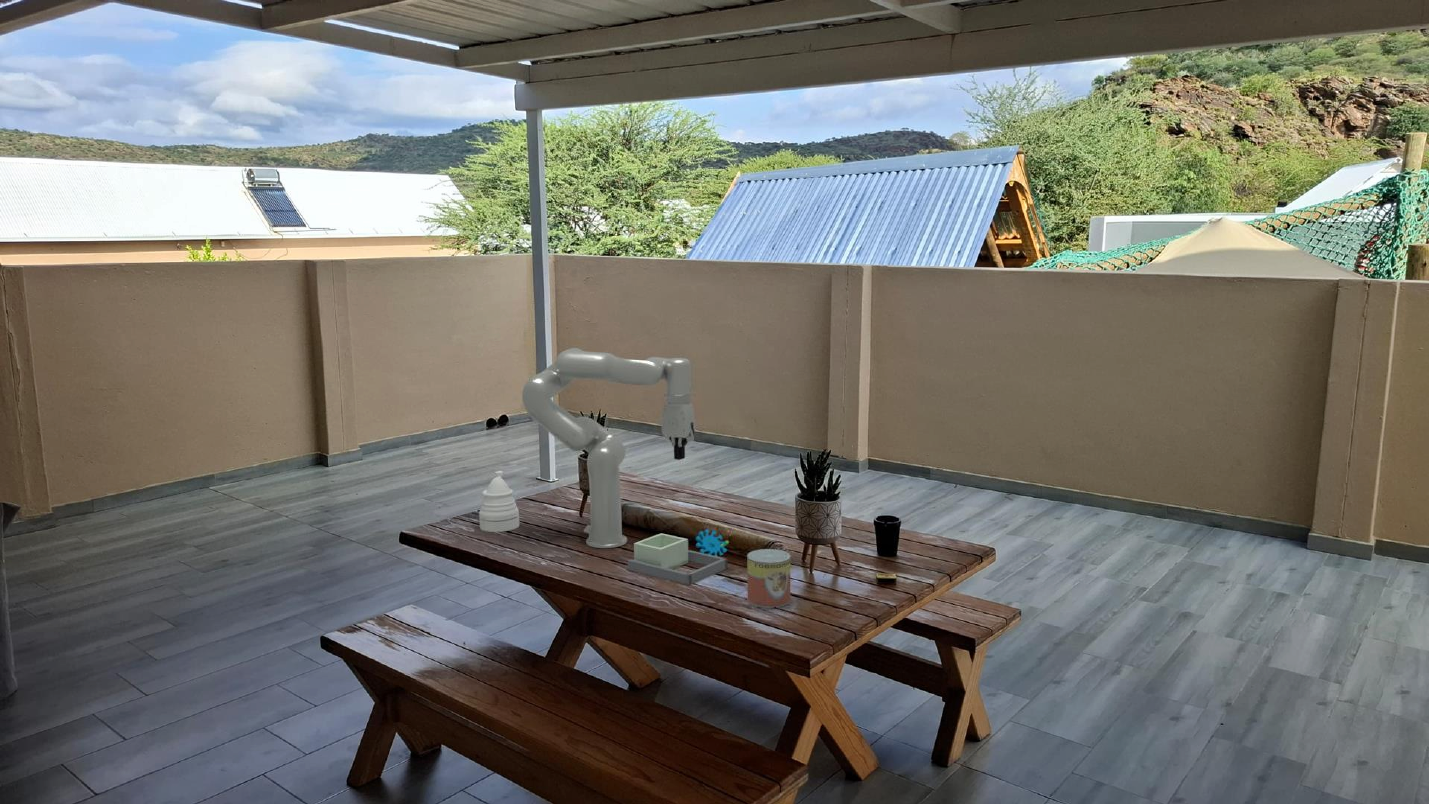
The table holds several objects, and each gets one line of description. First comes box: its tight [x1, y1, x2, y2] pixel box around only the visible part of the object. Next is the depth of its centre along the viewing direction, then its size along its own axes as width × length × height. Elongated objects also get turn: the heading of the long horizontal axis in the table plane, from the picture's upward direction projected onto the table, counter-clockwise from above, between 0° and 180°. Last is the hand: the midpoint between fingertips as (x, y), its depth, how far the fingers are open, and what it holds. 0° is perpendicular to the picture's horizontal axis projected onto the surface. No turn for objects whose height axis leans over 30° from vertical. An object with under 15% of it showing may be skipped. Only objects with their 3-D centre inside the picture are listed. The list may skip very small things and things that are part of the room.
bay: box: [627, 549, 729, 586], centre depth 276 cm, size 22×17×4 cm
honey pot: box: [478, 470, 520, 533], centre depth 323 cm, size 13×13×18 cm
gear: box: [694, 529, 730, 557], centre depth 292 cm, size 11×6×10 cm
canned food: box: [746, 548, 792, 609], centre depth 254 cm, size 11×11×12 cm
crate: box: [633, 533, 689, 570], centre depth 279 cm, size 10×12×7 cm
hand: (679, 458), depth 298 cm, fingers closed
